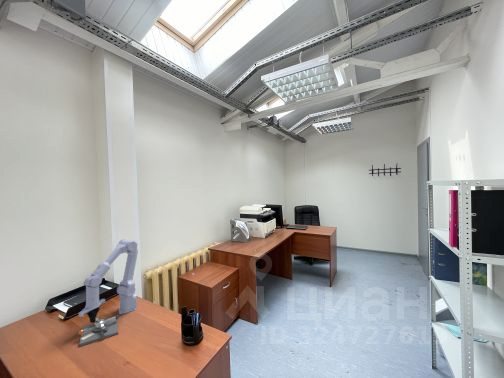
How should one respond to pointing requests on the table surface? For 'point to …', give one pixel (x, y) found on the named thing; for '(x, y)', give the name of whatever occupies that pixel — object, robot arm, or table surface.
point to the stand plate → (98, 333)
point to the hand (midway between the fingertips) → (92, 322)
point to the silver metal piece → (99, 325)
